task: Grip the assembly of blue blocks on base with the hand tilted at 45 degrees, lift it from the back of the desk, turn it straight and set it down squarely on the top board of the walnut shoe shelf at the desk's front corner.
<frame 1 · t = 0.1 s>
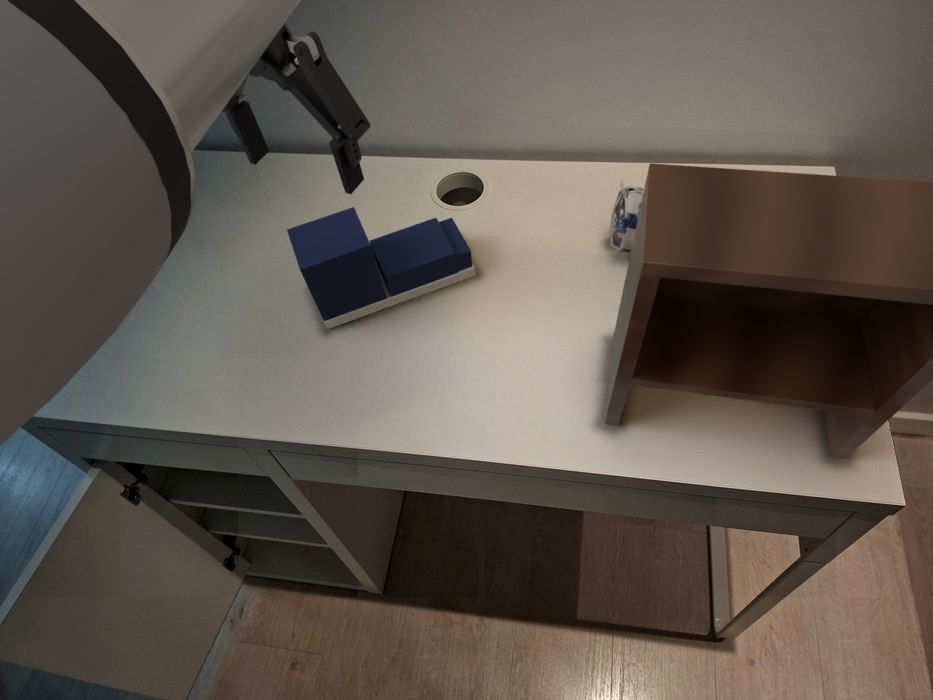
hand: (306, 171, 68), 21 cm above the table, tool pointing down, fingers open, 13 cm apart
pencil case: (686, 246, 85), on the table
blue blocks on base: (394, 282, 85), on the table
shelf: (719, 395, 71), on the table
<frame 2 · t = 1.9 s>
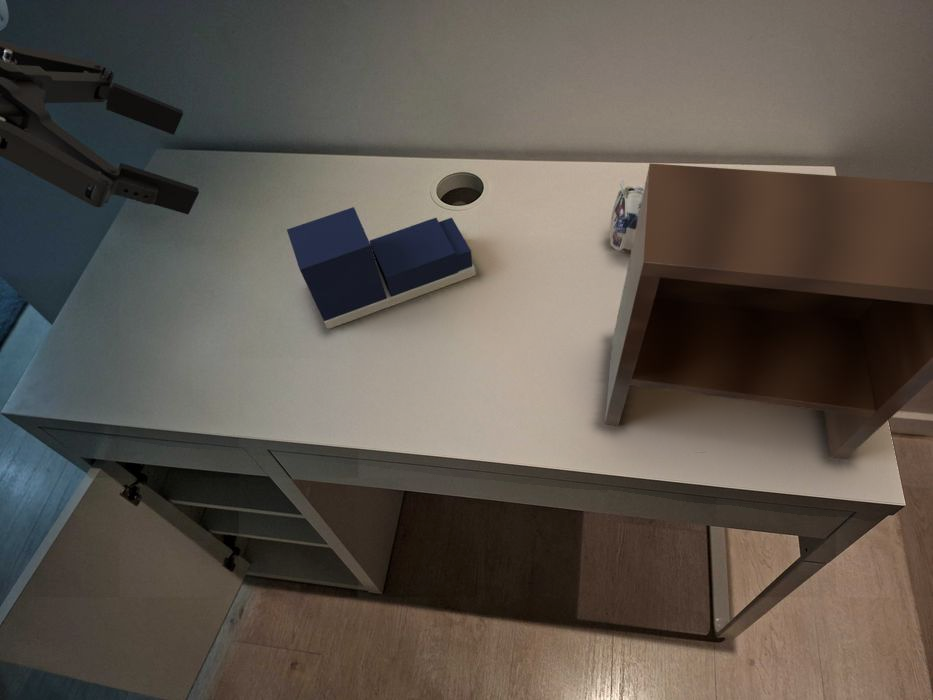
hand: (185, 159, 60), 28 cm above the table, tool tilted 45°, fingers open, 13 cm apart
nothing on the table moved.
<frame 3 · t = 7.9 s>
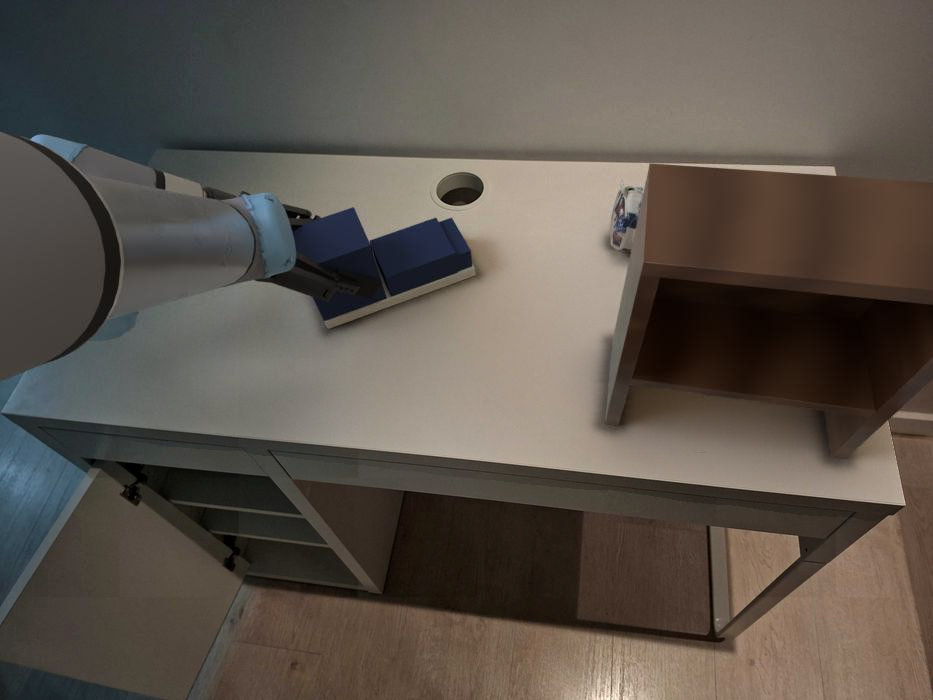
hand: (366, 267, 81), 5 cm above the table, tool tilted 45°, fingers closed on blue blocks on base, 8 cm apart
blue blocks on base: (394, 282, 85), on the table, touching gripper
everything else where it was.
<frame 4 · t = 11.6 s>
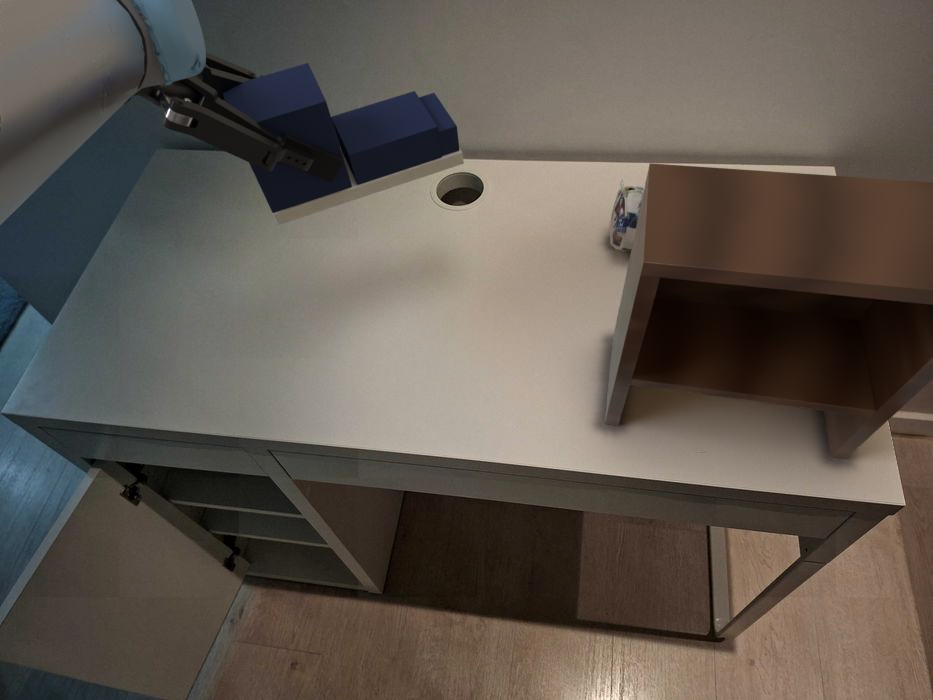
hand: (326, 147, 65), 24 cm above the table, tool tilted 45°, fingers closed on blue blocks on base, 8 cm apart
blue blocks on base: (363, 173, 69), point 20 cm above the table, touching gripper
everything else where it was.
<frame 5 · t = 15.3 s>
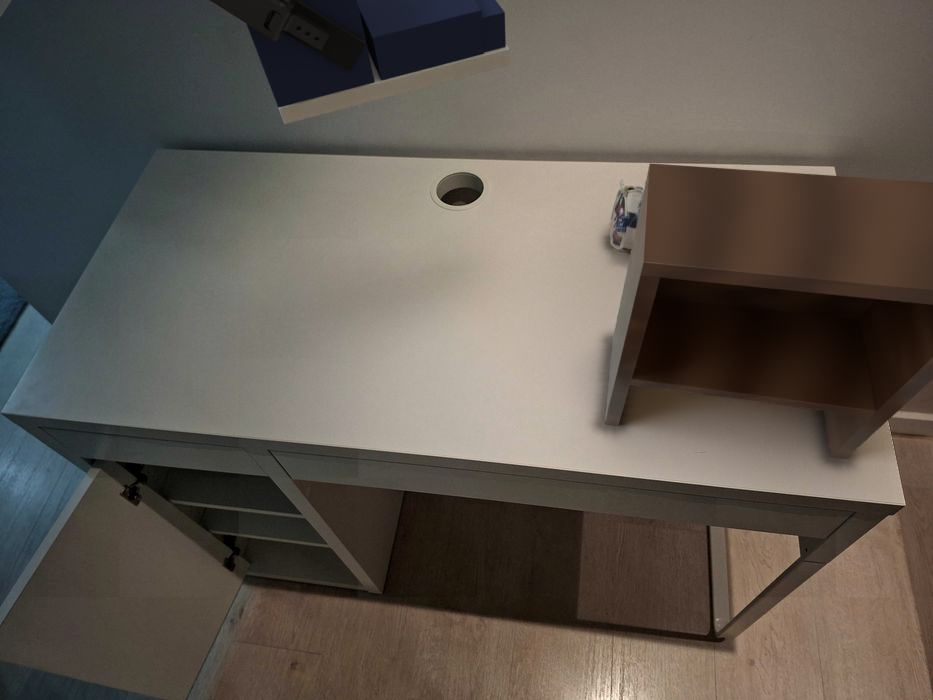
hand: (347, 33, 54), 36 cm above the table, tool tilted 45°, fingers closed on blue blocks on base, 8 cm apart
blue blocks on base: (389, 72, 58), point 32 cm above the table, touching gripper
everything else where it was.
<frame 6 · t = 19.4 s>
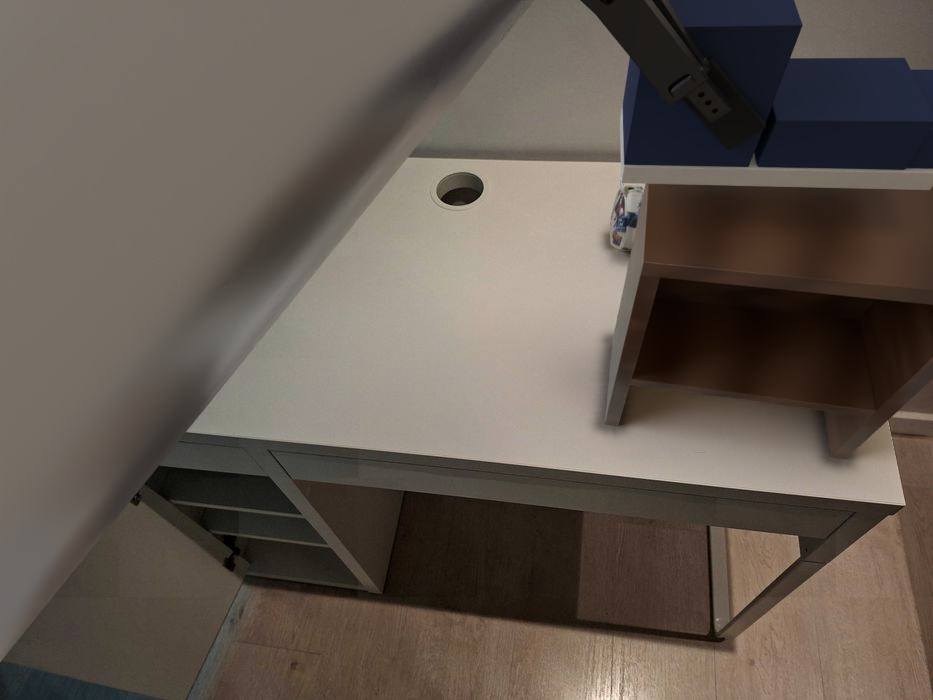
hand: (738, 100, 44), 36 cm above the table, tool tilted 45°, fingers closed on blue blocks on base, 8 cm apart
blue blocks on base: (762, 152, 47), point 32 cm above the table, touching gripper
everything else where it was.
when the fingers open (33 cm above the table, at t = 22.7 s): blue blocks on base stays where it is, resting on shelf.
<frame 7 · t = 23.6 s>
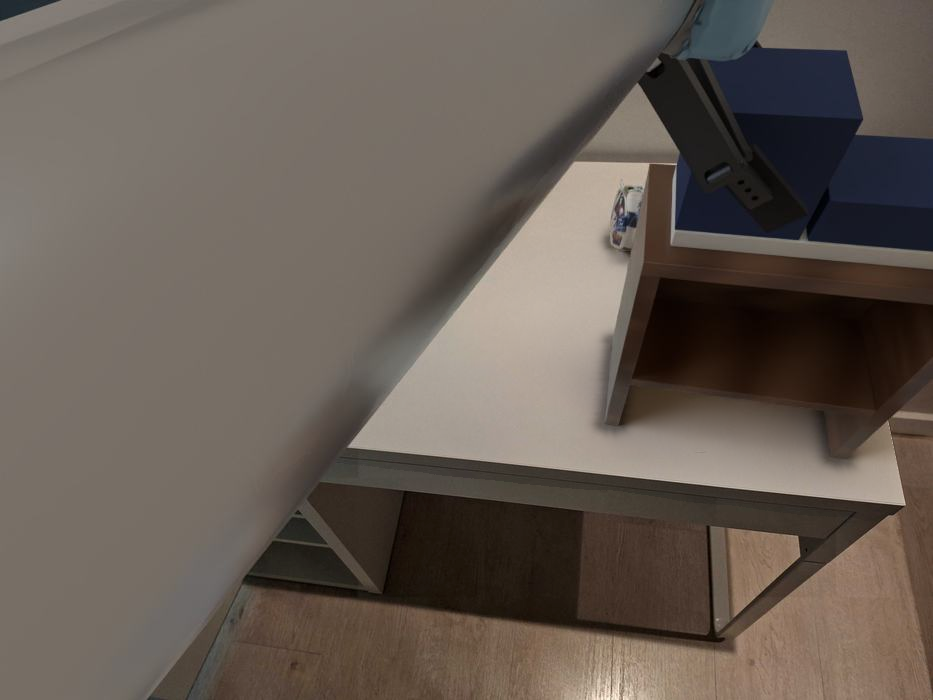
hand: (779, 155, 43), 34 cm above the table, tool tilted 45°, fingers open, 13 cm apart
blue blocks on base: (813, 222, 48), point 28 cm above the table, touching shelf
everything else where it was.
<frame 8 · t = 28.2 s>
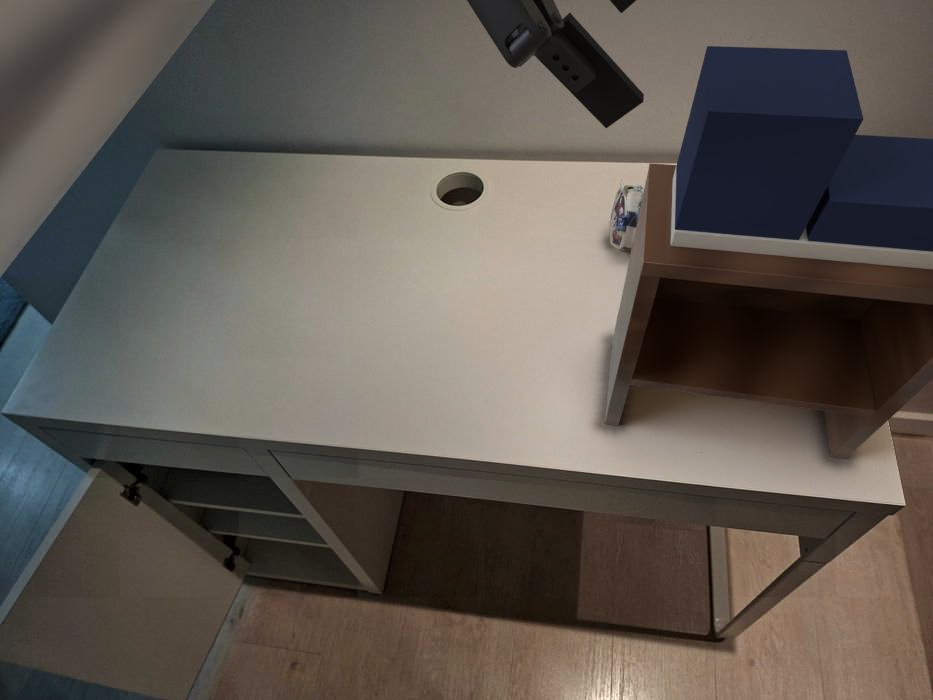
hand: (631, 50, 39), 42 cm above the table, tool tilted 45°, fingers open, 13 cm apart
nothing on the table moved.
at the end: blue blocks on base inside the target area on the shelf (0.0 cm from its centre), point 28.0 cm above the shelf's base; blue blocks on base tilted 0°; the gripper is holding nothing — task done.
